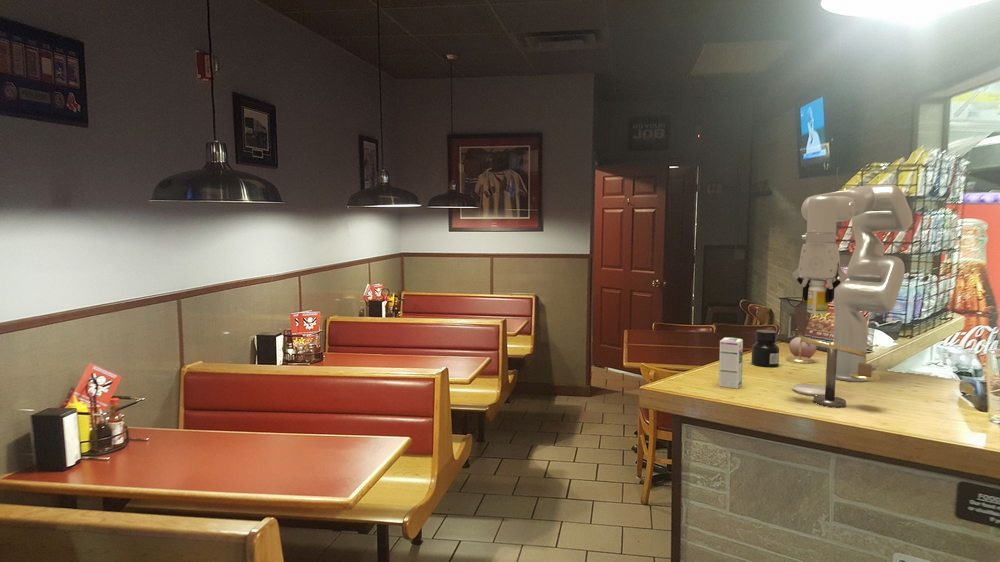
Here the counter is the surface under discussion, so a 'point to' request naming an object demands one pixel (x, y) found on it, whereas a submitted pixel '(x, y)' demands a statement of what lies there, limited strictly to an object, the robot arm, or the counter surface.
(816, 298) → the supplement bottle
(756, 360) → the ink bottle
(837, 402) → the balance
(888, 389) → the counter surface
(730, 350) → the syrup box
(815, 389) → the dish
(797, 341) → the decorative fruit
